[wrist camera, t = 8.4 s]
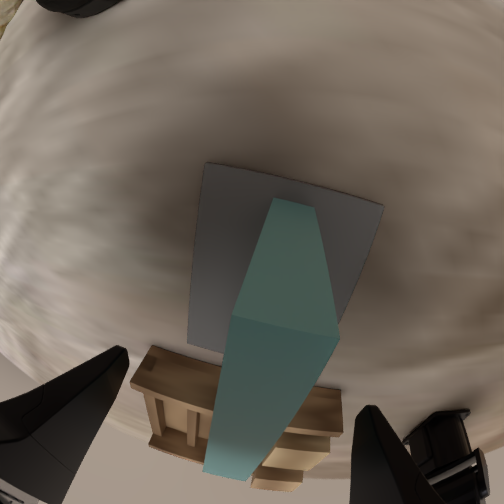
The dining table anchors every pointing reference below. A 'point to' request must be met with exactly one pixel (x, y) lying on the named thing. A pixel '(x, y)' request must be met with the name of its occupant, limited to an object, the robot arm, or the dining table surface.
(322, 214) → the mat
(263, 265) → the teal flat slab
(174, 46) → the dining table surface
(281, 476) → the offcut
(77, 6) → the headphones
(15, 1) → the stone
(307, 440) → the offcut
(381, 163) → the dining table surface
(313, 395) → the tray
